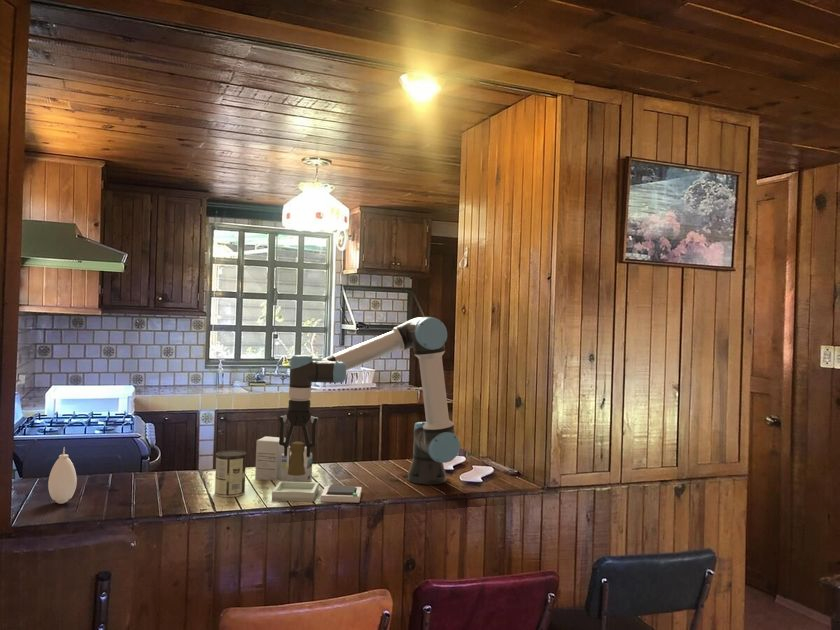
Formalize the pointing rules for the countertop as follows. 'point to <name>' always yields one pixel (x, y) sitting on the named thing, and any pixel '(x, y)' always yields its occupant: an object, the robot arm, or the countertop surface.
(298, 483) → the sorting tray
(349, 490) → the dark grey square slab
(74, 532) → the countertop surface
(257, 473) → the supplement box
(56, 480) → the bulb syringe
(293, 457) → the cork
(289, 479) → the light bulb box
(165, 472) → the countertop surface
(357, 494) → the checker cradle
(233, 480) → the coffee can
